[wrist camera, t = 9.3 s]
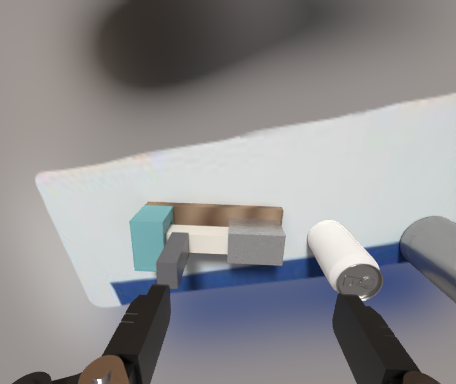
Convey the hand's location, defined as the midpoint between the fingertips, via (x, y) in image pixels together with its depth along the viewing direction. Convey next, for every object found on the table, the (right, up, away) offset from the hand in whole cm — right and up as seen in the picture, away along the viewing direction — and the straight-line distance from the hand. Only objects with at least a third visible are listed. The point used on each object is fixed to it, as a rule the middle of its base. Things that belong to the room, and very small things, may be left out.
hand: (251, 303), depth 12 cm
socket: (-12, -1, +29) cm, 31 cm away
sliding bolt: (-6, -1, +27) cm, 28 cm away
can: (+16, -2, +30) cm, 34 cm away
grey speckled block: (+3, -1, +28) cm, 29 cm away
